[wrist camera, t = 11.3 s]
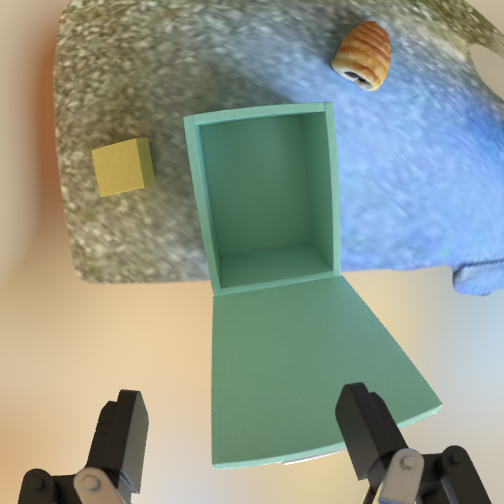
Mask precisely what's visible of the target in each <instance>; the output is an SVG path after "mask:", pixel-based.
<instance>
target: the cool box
mask: <svg viewBox="0 0 504 504" xmlns="http://www.w3.org/2000/svg"><path fill="white" fill-rule="evenodd" d="M183 122H184V130H185V136H186V143H187V150H188V157H189V163H190V169H191V176H192V182H193V188H194V194H195V200H196V206H197V211H198V217H199V223H200V228H201V233H202V239H203V244H204V249H205V255H206V260H207V265H208V270H209V275H210V280H211V285H212V289H213V294H214V296H217V295H224V294H231V293H237V292H244V291H251V290H257V289H264V288H270V287H276V286H282V285H288V284H294V283H300V282H306V281H312V280H318V279H323V278H329V277H335V276H340V258H341V239H340V196H339V174H338V158H337V144H336V132H335V121H334V111H333V103H332V102H324V103H323V102H319V103H293V104H277V105H265V106H254V107H245V108H236V109H228V110H221V111H214V112H207V113H201V114H195V115H189V116H184V117H183Z"/></svg>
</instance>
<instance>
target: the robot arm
mask: <svg viewBox="0 0 504 504" xmlns="http://www.w3.org/2000/svg"><path fill="white" fill-rule="evenodd" d="M335 417H336V420H337V423H338V426H339V428H340V431H341V434H342V437H343V439H344V442H345V445H346V447H347V450H348V452H349V456H350V458H351V461H352V464H353V466H354V469H355V472H356V475H357V478H358V480H363V479H366V478H368V481H369V484H368V486H367V489H366V491H365V493H364V496H363V498H362V500H361V503H360V504H414V502H415V501H416V504H491V501H490V499H489V497H488V495H487V493H486V490H485V488H484V486H483V484H482V482H481V480H480V477H479V475H478V473H477V471H476V469H475V467H474V465H473V463H472V461H471V459H470V457H469V455H468V454H467V452H466V450H465V449H463V448H462V447H460V446H454V445H453V446H449V447H448V448H446V449H445V450H444V451H443V452H442V453H438V454H420V453H419V452H418V451H416V450H414V449H410V448H409V447H408V446H407V444H406V442H405V440H404V438H403V436H402V434H401V433H400V431H399V429H398V427H397V425H396V423H395V421H394V419H392V415H391V413H390V411H388V408H387V406H386V404H385V402H384V400H383V399H382V398H381V397H380V396H379V395H378V394H376V393H375V392H370V393H369V391H368V389H367V387H366V385H365V384H364V383H363V382H357V383H351V384H345V385H344V386H343V388H342V391H341V394H340V396H339V399H338V401H337V404H336V407H335ZM148 424H149V420H148V413H147V410H146V407H145V404H144V401H143V398H142V395H141V392H140V391H133V390H123V389H122V390H121V391H120V392H119V395H118V399H117V402H114V401H108V403H107V404H106V405H105V406H104V407H103V409H102V410H101V413H100V416H99V419H98V423H97V427H96V432H95V434H94V437H93V441H92V445H91V449H90V452H89V456H88V460H87V464H86V465H85V467H84V468H83V469H82V470H80V471H79V472H78V473H77V474H73V475H62V476H51V475H50V474H49V473H47V472H46V471H44V470H42V469H32V470H30V471H28V472H27V473H26V474H25V476H24V478H23V482H22V486H21V491H20V495H19V500H18V504H132V503H131V502H130V501H131V493H137V494H140V486H141V477H142V469H143V460H144V453H145V446H146V439H147V432H148Z"/></svg>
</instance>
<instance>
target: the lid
mask: <svg viewBox="0 0 504 504" xmlns="http://www.w3.org/2000/svg"><path fill="white" fill-rule="evenodd" d="M212 323H213V324H212V375H211V376H212V377H211V378H212V380H211V436H212V464H213V466H214V468H215V469H218V470H219V469H231V468H241V467H250V466H258V465H265V464H271V463H278V462H283V464H284V465H285V464H291V463H296V462H301V461H306V460H310V459H315V458H319V457H323V456H327V455H331V454H335V453H339V452H342V451H346V450H347V447H346V445H345V442H344V439H343V437H342V434H341V431H340V428H339V426H338V423H337V420H336V417H335V407H336V404H337V401H338V399H339V396H340V394H341V391H342V388H343V386H344V385H345V384H351V383H357V382H363V383H364V384H365V385H366V387H367V389H368V391H369V393H370V392H375V393H376V394H378V395H379V396H380V397H381V398H382V399H383V400H384V402H385V404H386V406H387V408H388V411H390V413H391V415H392V419H394V421H395V423H396V425H397V427H398V429H400V428H403V427H405V426H408V425H410V424H413V423H415V422H417V421H420V420H422V419H424V418H427V417H429V416H431V415H433V414H435V413H437V412H439V410H440V408H441V406H442V402H441V401H440V400H439V398H438V397H437V395H436V394H435V393H434V391H433V390H432V388H431V387H430V386H429V384H428V383H427V382H426V380H425V379H424V377H423V376H422V375H421V373H420V372H419V371H418V369H417V368H416V367H415V366H414V364H413V363H412V362H411V360H410V359H409V358H408V356H407V355H406V354H405V352H404V351H403V350H402V349H401V347H400V346H399V345H398V343H397V342H396V341H395V340H394V338H393V337H392V336H391V335H390V333H389V332H388V331H387V329H386V328H385V327H384V326H383V324H382V323H381V322H380V321H379V319H378V318H377V317H376V316H375V314H374V313H373V312H372V311H371V310H370V308H369V307H368V306H367V305H366V303H365V302H364V301H363V300H362V299H361V297H360V296H359V295H358V294H357V292H356V291H355V290H354V289H353V288H352V286H351V285H350V284H349V283H348V282H347V281H346V279H345V278H344V277H343V276H342V275H340V276H335V277H329V278H323V279H318V280H312V281H306V282H300V283H294V284H288V285H282V286H276V287H270V288H264V289H257V290H251V291H244V292H237V293H231V294H224V295H217V296H213V322H212Z"/></svg>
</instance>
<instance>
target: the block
mask: <svg viewBox="0 0 504 504" xmlns="http://www.w3.org/2000/svg"><path fill="white" fill-rule="evenodd" d="M91 151H92V157H93V163H94V168H95V173H96V178H97V183H98V188H99V192H100V197H104V196H108V195H112V194H117V193H121V192H126V191H130V190H135V189H140V188H144V187H146V186H147V185H148V184H150V183H151V182H153V181H154V180H155V176H154V170H153V164H152V158H151V152H150V146H149V140H148V137H145V138H134V139H130V140H126V141H122V142H118V143H115V144H111V145H107V146H104V147H100V148H97V149H93V150H91Z"/></svg>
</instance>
